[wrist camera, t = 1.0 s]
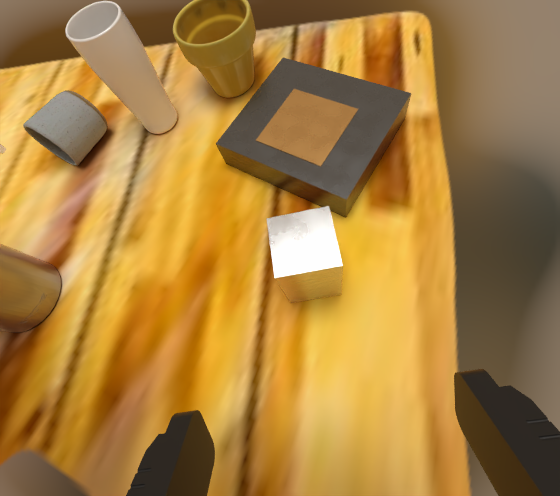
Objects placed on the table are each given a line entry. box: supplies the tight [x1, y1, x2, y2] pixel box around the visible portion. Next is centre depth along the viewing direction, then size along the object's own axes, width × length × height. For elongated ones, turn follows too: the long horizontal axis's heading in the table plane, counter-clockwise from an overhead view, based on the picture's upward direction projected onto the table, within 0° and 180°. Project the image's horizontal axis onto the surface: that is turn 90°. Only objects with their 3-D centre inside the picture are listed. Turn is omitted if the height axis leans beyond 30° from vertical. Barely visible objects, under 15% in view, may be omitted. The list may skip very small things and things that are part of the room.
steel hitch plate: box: [216, 58, 411, 217], centre depth 39 cm, size 18×16×4 cm
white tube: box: [65, 1, 177, 134], centre depth 41 cm, size 7×7×15 cm
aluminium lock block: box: [267, 206, 343, 303], centre depth 30 cm, size 6×6×10 cm
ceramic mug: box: [23, 91, 107, 166], centre depth 46 cm, size 11×8×8 cm
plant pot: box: [173, 0, 256, 98], centre depth 44 cm, size 10×10×10 cm
